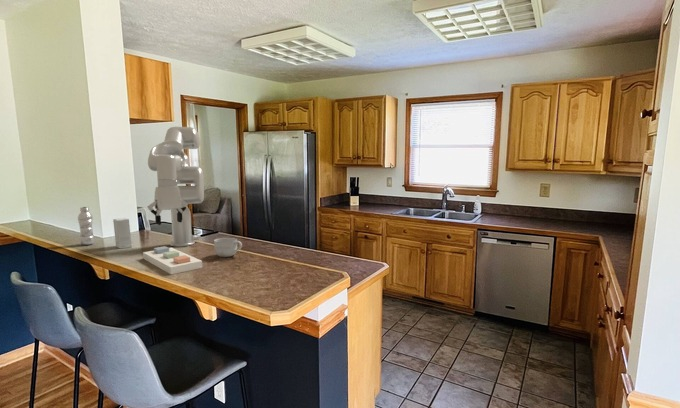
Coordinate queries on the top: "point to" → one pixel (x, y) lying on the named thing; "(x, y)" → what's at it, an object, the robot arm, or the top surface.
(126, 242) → the skincare box
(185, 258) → the terracotta button
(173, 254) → the sage button
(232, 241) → the teacup
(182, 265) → the button panel
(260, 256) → the top surface
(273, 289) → the top surface
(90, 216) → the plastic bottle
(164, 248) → the slate button
